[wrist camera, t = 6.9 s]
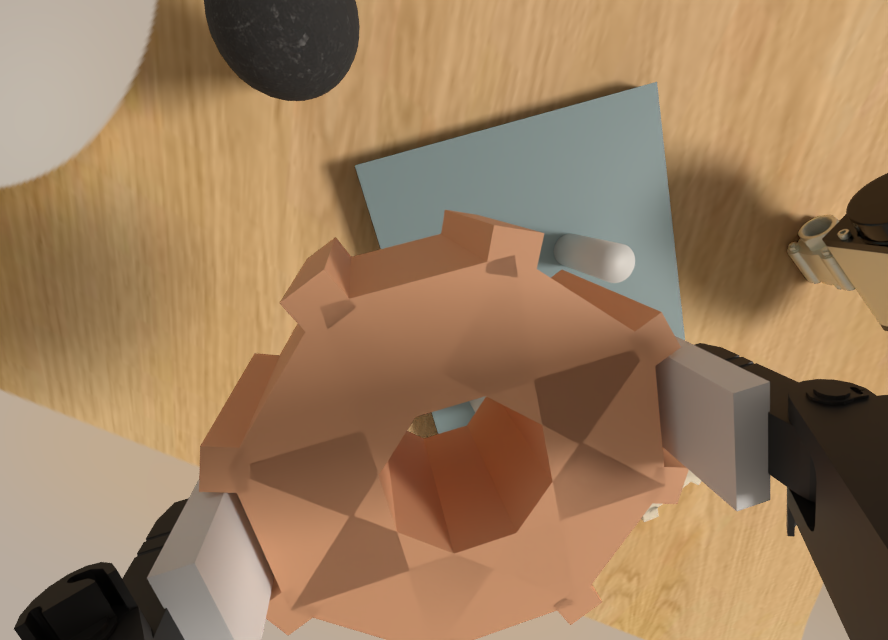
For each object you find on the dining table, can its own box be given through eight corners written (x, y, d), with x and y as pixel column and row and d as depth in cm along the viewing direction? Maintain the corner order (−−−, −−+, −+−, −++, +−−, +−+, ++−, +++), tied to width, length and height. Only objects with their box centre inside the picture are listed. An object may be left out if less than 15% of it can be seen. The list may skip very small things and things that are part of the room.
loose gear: (206, 269, 13) (117, 322, 8) (561, 180, 14) (669, 179, 9) (322, 558, 16) (308, 719, 11) (601, 468, 17) (696, 579, 12)
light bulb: (379, 77, 26) (394, 12, 16) (302, 145, 26) (272, 120, 16) (305, -20, 24) (274, -157, 14) (223, 54, 24) (139, -34, 15)
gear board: (354, 166, 27) (355, 159, 20) (641, 87, 28) (729, 56, 22) (462, 512, 34) (488, 590, 28) (682, 433, 36) (756, 488, 29)
